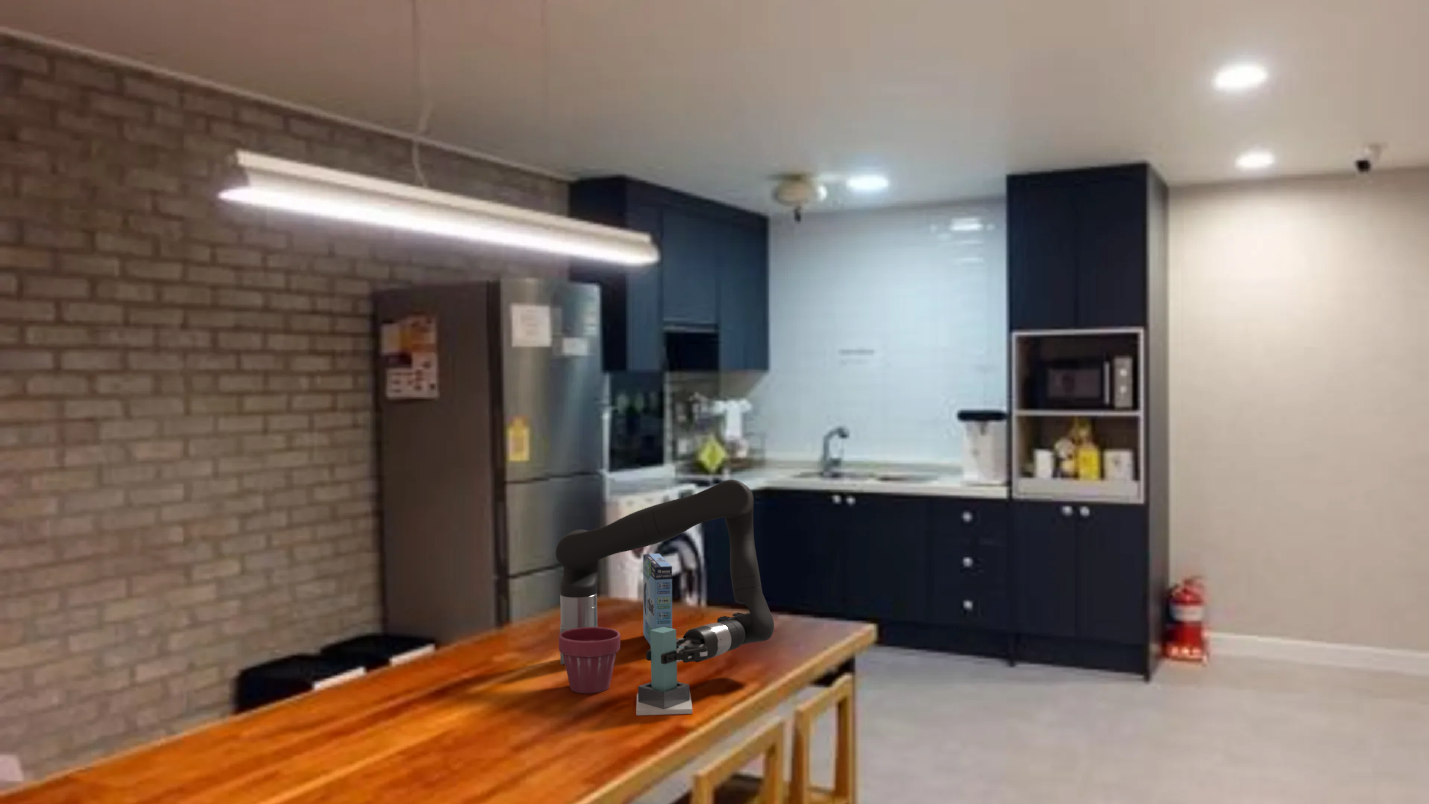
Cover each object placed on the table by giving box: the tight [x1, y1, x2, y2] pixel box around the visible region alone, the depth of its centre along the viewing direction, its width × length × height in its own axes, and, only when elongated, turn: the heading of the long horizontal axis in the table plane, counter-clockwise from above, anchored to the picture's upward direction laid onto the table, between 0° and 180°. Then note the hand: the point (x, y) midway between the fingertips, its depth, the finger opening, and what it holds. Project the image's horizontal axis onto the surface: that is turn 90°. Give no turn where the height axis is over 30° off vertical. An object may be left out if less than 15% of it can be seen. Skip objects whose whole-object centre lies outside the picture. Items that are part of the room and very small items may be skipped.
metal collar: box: [637, 681, 691, 709], centre depth 235 cm, size 8×8×4 cm
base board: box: [635, 693, 693, 716], centre depth 235 cm, size 12×12×1 cm
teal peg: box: [650, 627, 678, 691], centre depth 235 cm, size 4×4×14 cm
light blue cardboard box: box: [642, 553, 673, 647], centre depth 288 cm, size 20×5×23 cm, turn 13°
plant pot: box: [558, 626, 621, 694], centre depth 249 cm, size 14×14×13 cm
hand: (654, 657), depth 233 cm, fingers closed on teal peg, 4 cm apart
